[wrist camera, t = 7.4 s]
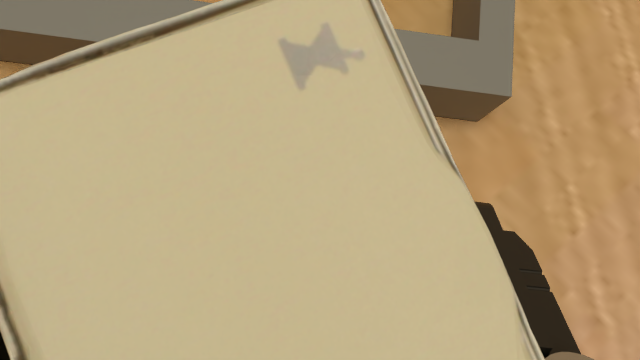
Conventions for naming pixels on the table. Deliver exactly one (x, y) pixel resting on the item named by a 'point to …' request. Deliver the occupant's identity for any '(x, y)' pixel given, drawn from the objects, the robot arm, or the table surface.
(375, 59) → the skincare box
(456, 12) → the grey divided frame
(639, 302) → the table surface
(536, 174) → the table surface
